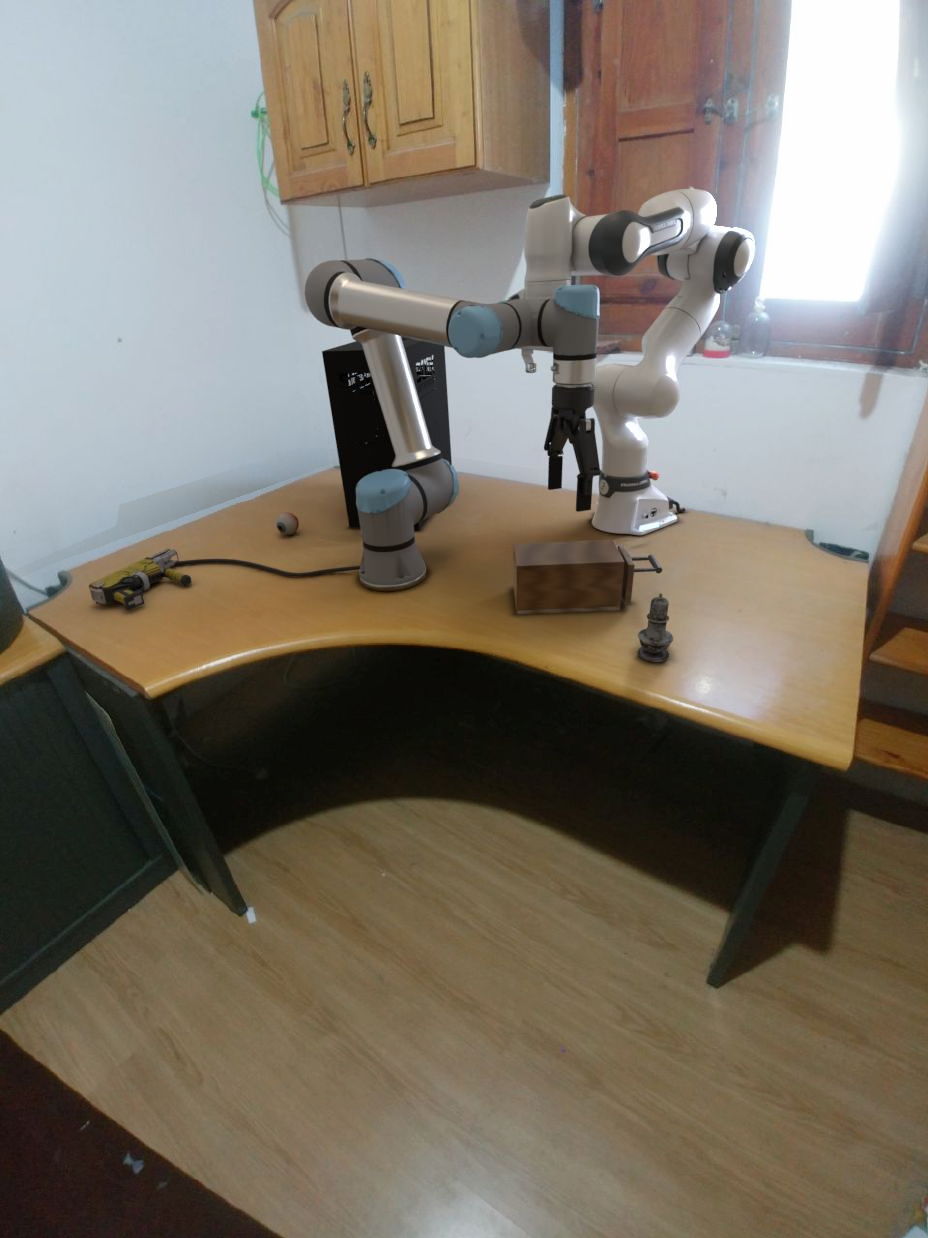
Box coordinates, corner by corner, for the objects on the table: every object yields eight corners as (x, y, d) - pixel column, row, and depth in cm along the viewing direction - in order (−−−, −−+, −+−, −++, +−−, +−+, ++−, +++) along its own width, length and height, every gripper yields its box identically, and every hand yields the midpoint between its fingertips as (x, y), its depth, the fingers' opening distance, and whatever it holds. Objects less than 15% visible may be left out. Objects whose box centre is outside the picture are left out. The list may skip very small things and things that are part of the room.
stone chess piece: (672, 664, 103) (681, 602, 97) (636, 661, 104) (643, 600, 98) (669, 645, 108) (677, 585, 102) (635, 643, 109) (641, 584, 103)
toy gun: (215, 556, 146) (165, 546, 150) (137, 598, 126) (82, 584, 130) (218, 574, 148) (168, 563, 152) (142, 617, 128) (87, 603, 132)
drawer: (648, 581, 128) (652, 543, 124) (661, 602, 120) (666, 563, 116) (530, 585, 129) (530, 548, 125) (534, 607, 121) (534, 568, 116)
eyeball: (273, 537, 164) (268, 516, 161) (287, 528, 169) (282, 508, 166) (291, 539, 161) (286, 518, 158) (305, 530, 166) (301, 510, 163)
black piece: (419, 530, 162) (402, 348, 140) (349, 527, 167) (321, 351, 144) (453, 486, 194) (443, 332, 171) (393, 485, 198) (376, 334, 176)
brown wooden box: (609, 585, 129) (612, 539, 124) (620, 610, 120) (624, 561, 115) (513, 589, 130) (513, 543, 125) (516, 614, 121) (516, 566, 115)
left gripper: (528, 375, 117) (527, 482, 127) (584, 397, 96) (577, 523, 107) (564, 372, 118) (560, 478, 129) (627, 393, 97) (616, 517, 108)
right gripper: (599, 296, 110) (595, 377, 117) (525, 296, 124) (525, 368, 131) (574, 299, 107) (571, 381, 114) (501, 299, 121) (503, 372, 128)
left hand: (568, 499), depth 118 cm, fingers open, 13 cm apart
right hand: (546, 374), depth 123 cm, fingers open, 8 cm apart
